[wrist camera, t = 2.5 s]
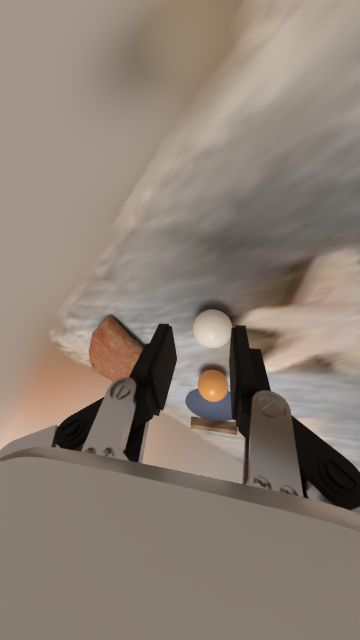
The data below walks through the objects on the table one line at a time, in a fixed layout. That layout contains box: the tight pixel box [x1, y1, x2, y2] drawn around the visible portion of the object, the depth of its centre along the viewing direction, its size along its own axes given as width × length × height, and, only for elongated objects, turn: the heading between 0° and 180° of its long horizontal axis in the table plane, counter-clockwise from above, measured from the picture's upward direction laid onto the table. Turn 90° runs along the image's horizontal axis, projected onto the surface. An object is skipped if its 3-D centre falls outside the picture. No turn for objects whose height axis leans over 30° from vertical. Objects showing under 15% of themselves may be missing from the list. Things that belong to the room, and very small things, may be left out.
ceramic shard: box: [89, 316, 143, 382], centre depth 39 cm, size 15×6×15 cm
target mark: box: [186, 389, 232, 421], centre depth 44 cm, size 14×14×1 cm
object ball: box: [198, 370, 228, 402], centre depth 35 cm, size 6×6×6 cm
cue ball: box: [193, 309, 232, 348], centre depth 28 cm, size 6×6×6 cm
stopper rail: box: [191, 417, 237, 435], centre depth 48 cm, size 12×2×2 cm, turn 96°
